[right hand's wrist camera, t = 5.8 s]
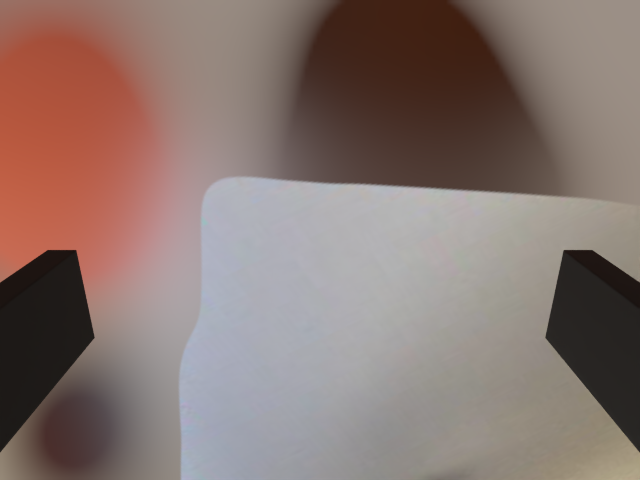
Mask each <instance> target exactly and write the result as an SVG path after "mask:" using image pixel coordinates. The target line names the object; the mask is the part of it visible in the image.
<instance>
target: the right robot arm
mask: <svg viewBox="0 0 640 480" xmlns="http://www.w3.org/2000/svg"><path fill="white" fill-rule="evenodd" d="M545 338H546V339H547V340H548V341H549V343H550V344H551V345H552V346H553V347H554V349H555V350H556V351H557V352H558V354H559V355H560V356H561V357H562V358H563V360H564V361H565V362H566V363H567V365H568V366H569V367H570V368H571V369H572V371H573V372H574V373H575V374H576V375H577V377H578V378H579V379H580V380H581V382H582V383H583V384H584V385H585V386H586V388H587V389H588V390H589V391H590V392H591V394H592V395H593V396H594V397H595V399H596V400H597V401H598V402H599V403H600V405H601V406H602V407H603V408H604V409H605V411H606V412H607V413H608V414H609V416H610V417H611V418H612V419H613V420H614V422H615V423H616V424H617V425H618V426H619V428H620V429H621V430H622V431H623V433H624V434H625V435H626V436H627V437H628V439H629V440H630V441H631V442H632V443H633V445H634V446H635V447H636V448H637V450H638V451H639V452H640V282H638V281H637V280H635V279H634V278H632V277H631V276H629V275H628V274H626V273H625V272H623V271H622V270H621V269H619V268H618V267H616V266H615V265H613V264H612V263H610V262H609V261H607V260H606V259H604V258H603V257H602V256H600V255H599V254H597V253H596V252H594V251H593V250H564V252H563V256H562V261H561V266H560V271H559V275H558V280H557V285H556V290H555V294H554V299H553V304H552V309H551V314H550V318H549V323H548V328H547V333H546V337H545ZM93 339H94V333H93V328H92V323H91V319H90V314H89V309H88V304H87V299H86V294H85V290H84V285H83V280H82V275H81V271H80V266H79V261H78V256H77V252H76V250H47V251H46V252H44V253H43V254H41V255H40V256H38V257H37V258H36V259H34V260H33V261H31V262H30V263H28V264H27V265H25V266H24V267H22V268H21V269H19V270H18V271H17V272H15V273H14V274H12V275H11V276H9V277H8V278H6V279H5V280H3V281H2V282H1V283H0V452H1V451H2V450H3V448H4V447H5V446H6V445H7V443H8V442H9V441H10V440H11V439H12V437H13V436H14V435H15V434H16V433H17V431H18V430H19V429H20V428H21V426H22V425H23V424H24V423H25V422H26V420H27V419H28V418H29V417H30V416H31V414H32V413H33V412H34V411H35V409H36V408H37V407H38V406H39V404H40V403H41V402H42V401H43V400H44V399H45V397H46V396H47V395H48V394H49V392H50V391H51V390H52V389H53V388H54V386H55V385H56V384H57V383H58V381H59V380H60V379H61V378H62V377H63V375H64V374H65V373H66V372H67V371H68V369H69V368H70V367H71V366H72V364H73V363H74V362H75V361H76V360H77V358H78V357H79V356H80V355H81V354H82V352H83V351H84V350H85V349H86V347H87V346H88V345H89V344H90V343H91V341H92V340H93Z"/></svg>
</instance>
